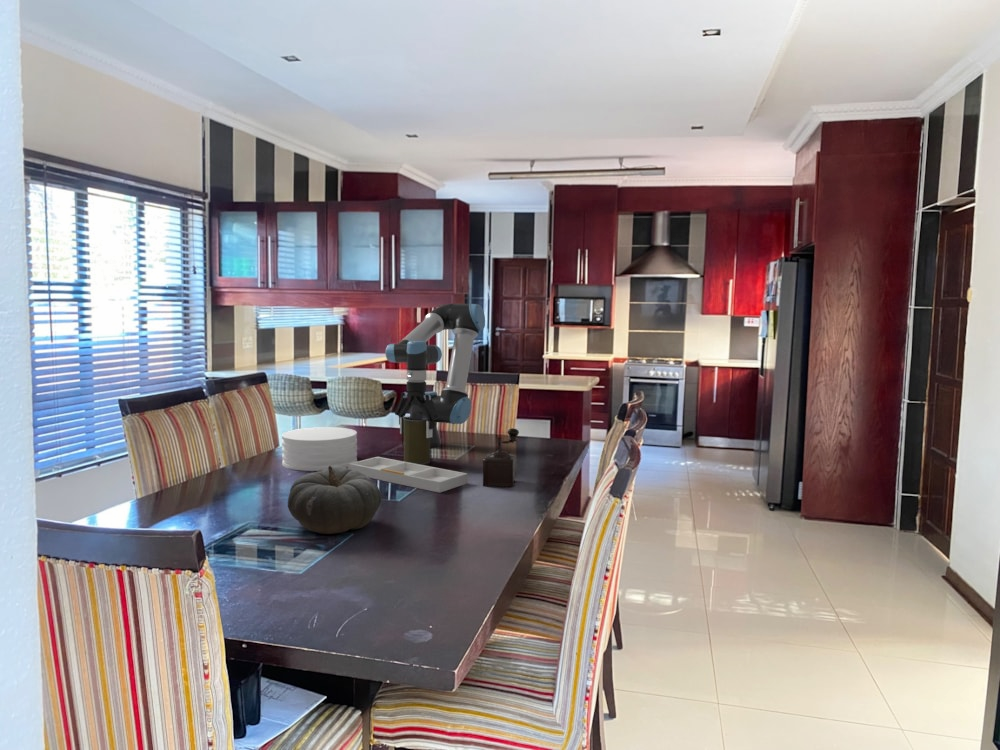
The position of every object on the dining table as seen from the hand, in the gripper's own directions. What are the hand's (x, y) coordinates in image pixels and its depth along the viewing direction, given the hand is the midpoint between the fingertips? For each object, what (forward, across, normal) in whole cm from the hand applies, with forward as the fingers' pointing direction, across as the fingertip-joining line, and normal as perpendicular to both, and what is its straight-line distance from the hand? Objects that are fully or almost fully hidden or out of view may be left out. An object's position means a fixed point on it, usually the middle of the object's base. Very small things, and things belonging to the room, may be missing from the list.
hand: (416, 435), depth 270 cm
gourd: (+12, +35, -72) cm, 80 cm away
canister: (+11, 0, 0) cm, 11 cm away
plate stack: (+11, -29, -22) cm, 38 cm away
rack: (+11, +14, -20) cm, 27 cm away
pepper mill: (+11, +43, -4) cm, 44 cm away
